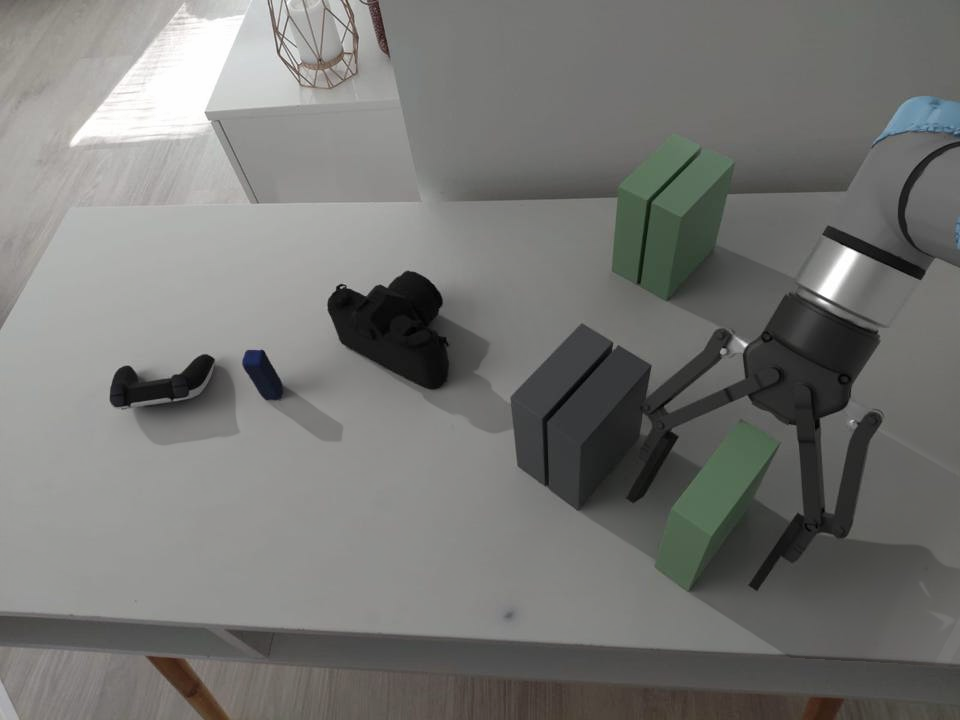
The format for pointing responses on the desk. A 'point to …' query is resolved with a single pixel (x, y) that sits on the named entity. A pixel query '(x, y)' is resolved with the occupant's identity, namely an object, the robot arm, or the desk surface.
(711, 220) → the green book
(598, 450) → the grey book
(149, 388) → the gaming controller
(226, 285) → the desk surface
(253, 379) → the blue rectangular bar
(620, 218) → the green book
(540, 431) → the grey book
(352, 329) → the film camera
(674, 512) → the sage book
